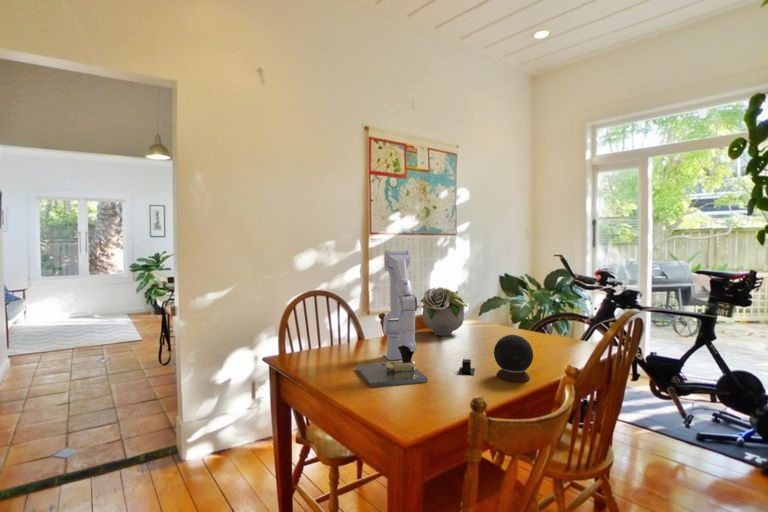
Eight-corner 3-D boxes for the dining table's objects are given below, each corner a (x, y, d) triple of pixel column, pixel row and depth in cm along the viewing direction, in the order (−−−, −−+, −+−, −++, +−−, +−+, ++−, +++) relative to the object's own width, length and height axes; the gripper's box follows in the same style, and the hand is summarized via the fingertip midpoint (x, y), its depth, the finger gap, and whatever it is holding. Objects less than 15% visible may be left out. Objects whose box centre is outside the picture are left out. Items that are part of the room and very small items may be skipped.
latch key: (387, 371, 145) (387, 364, 145) (385, 369, 148) (385, 362, 148) (416, 369, 148) (416, 362, 148) (413, 367, 151) (414, 360, 150)
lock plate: (407, 365, 160) (407, 361, 160) (427, 382, 140) (427, 377, 140) (356, 369, 154) (356, 365, 154) (370, 387, 135) (370, 382, 135)
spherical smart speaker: (539, 383, 140) (540, 339, 140) (501, 384, 139) (502, 339, 139) (523, 371, 153) (524, 330, 153) (488, 372, 152) (489, 331, 152)
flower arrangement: (417, 338, 204) (417, 289, 204) (421, 328, 229) (421, 284, 228) (468, 341, 200) (469, 290, 200) (466, 330, 225) (467, 285, 224)
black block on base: (475, 379, 146) (475, 366, 146) (454, 377, 148) (454, 364, 148) (477, 368, 158) (477, 356, 158) (457, 367, 160) (457, 355, 160)
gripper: (390, 325, 156) (390, 361, 156) (402, 333, 142) (402, 373, 142) (408, 324, 158) (407, 360, 158) (422, 332, 144) (421, 371, 144)
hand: (406, 366), depth 150 cm, fingers closed
